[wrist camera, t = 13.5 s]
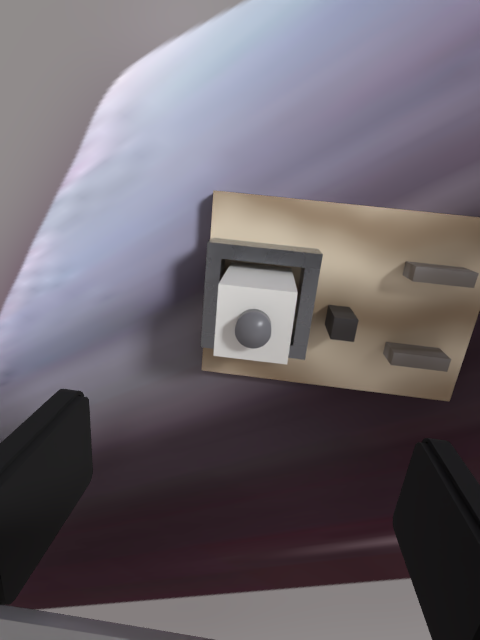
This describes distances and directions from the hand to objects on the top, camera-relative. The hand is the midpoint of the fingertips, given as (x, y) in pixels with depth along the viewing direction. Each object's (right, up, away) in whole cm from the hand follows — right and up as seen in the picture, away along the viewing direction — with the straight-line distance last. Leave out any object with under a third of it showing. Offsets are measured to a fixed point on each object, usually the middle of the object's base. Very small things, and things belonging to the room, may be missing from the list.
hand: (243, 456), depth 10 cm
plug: (+1, +6, +17) cm, 18 cm away
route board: (+7, +6, +18) cm, 21 cm away
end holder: (+1, +6, +17) cm, 18 cm away
